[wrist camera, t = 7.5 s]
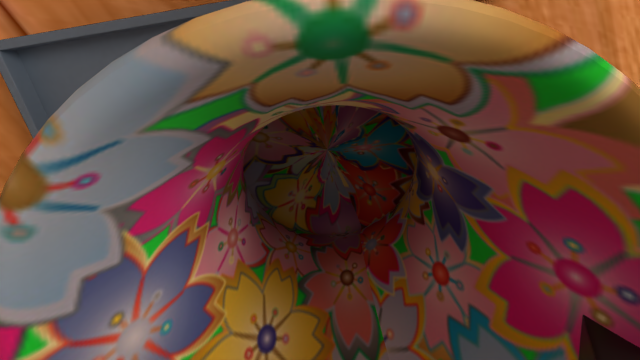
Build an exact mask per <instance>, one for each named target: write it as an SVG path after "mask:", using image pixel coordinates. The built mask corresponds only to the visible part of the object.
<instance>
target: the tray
mask: <svg viewBox="0 0 640 360" xmlns="http://www.w3.org/2000/svg"><path fill="white" fill-rule="evenodd" d="M246 1H251V0H229V1H223V2H217V3H211V4H205V5H200V6H194V7H188V8H182V9H177V10H171V11H165V12H159V13H154V14H148V15H142V16H136V17H130V18H125V19H119V20H113V21H107V22H102V23H96V24H90V25H84V26H78V27H73V28H67V29H61V30H55V31H50V32H44V33H38V34H32V35H26V36H21V37H15V38H9V39H3V40H0V72H1V74H2V76H3V78H4V80H5V82H6V84H7V86H8V89H9V91H10V93H11V95H12V97H13V99H14V101H15V103H16V105H17V107H18V109H19V111H20V113H21V115H22V117H23V119H24V121H25V123H26V125H27V127H28V129H29V131H30V133H31V135H32V137H33V139H34V137H35V136H36V135H37V133H38V132H39V131H40V129H41V128H42V127H43V125H44V124H45V123H46V121H47V120H48V119H49V118H50V117H51V116H52V115H53V114H54V113H55V112H56V111H57V110H58V109H59V108H60V107H61V105H62V104H63V103H64V102H65V101H66V100H67V99H68V98H69V97H70V96H71V95H72V94H73V93H74V92H75V91H76V90H77V89H78V88H80V87H81V86H82V85H83V84H85V83H86V82H87V81H88V80H90V79H91V78H92V77H93V76H95V75H96V74H97V73H99V72H100V71H101V70H102V69H104V68H105V67H106V66H107V65H109V64H110V63H111V62H113V61H114V60H116V59H118V58H119V57H121V56H123V55H124V54H126V53H127V52H129V51H131V50H132V49H134V48H136V47H137V46H139V45H141V44H142V43H144V42H146V41H147V40H149V39H151V38H152V37H154V36H157V35H159V34H161V33H163V32H165V31H168V30H170V29H172V28H174V27H177V26H179V25H181V24H183V23H185V22H188V21H190V20H192V19H194V18H196V17H199V16H202V15H205V14H209V13H212V12H215V11H218V10H221V9H224V8H227V7H231V6H234V5H237V4H240V3H243V2H246Z"/></svg>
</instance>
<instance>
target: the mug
mask: <svg viewBox="0 0 640 360" xmlns="http://www.w3.org/2000/svg"><path fill="white" fill-rule="evenodd" d="M583 315H585V316H587V317H588V318H590V319H592V320H593V321H595V322H597V323H598V324H600V325H602V326H603V327H605V328H607V329H608V330H610V331H612V332H614V333H615V334H617V335H619V336H620V337H622V338H624V339H625V340H627V341H629V342H631V343H632V344H634V345H636V346H637V347H639V348H640V89H639V88H638V87H637V86H636V85H635V84H634V83H633V82H632V81H631V80H630V79H629V78H628V77H627V76H625V75H624V74H623V73H622V72H620V71H619V70H618V69H616V68H615V67H614V66H612V65H611V64H609V63H608V62H607V61H605V60H604V59H603V58H601V57H600V56H599V55H597V54H596V53H595V52H593V51H592V50H590V49H589V48H587V47H586V46H584V45H582V44H580V43H578V42H576V41H575V40H573V39H571V38H569V37H567V36H566V35H564V34H562V33H560V32H558V31H557V30H555V29H553V28H551V27H549V26H547V25H544V24H542V23H539V22H537V21H534V20H532V19H529V18H527V17H524V16H522V15H519V14H517V13H514V12H512V11H509V10H507V9H504V8H500V7H497V6H493V5H489V4H485V3H481V2H478V1H474V0H251V1H246V2H243V3H240V4H237V5H234V6H231V7H227V8H224V9H221V10H218V11H215V12H212V13H209V14H205V15H202V16H199V17H196V18H194V19H192V20H190V21H188V22H185V23H183V24H181V25H179V26H177V27H174V28H172V29H170V30H168V31H165V32H163V33H161V34H159V35H157V36H154V37H152V38H151V39H149V40H147V41H146V42H144V43H142V44H141V45H139V46H137V47H136V48H134V49H132V50H131V51H129V52H127V53H126V54H124V55H123V56H121V57H119V58H118V59H116V60H114V61H113V62H111V63H110V64H109V65H107V66H106V67H105V68H104V69H102V70H101V71H100V72H99V73H97V74H96V75H95V76H93V77H92V78H91V79H90V80H88V81H87V82H86V83H85V84H83V85H82V86H81V87H80V88H78V89H77V90H76V91H75V92H74V93H73V94H72V95H71V96H70V97H69V98H68V99H67V100H66V101H65V102H64V103H63V104H62V105H61V107H60V108H59V109H58V110H57V111H56V112H55V113H54V114H53V115H52V116H51V117H50V118H49V119H48V120H47V121H46V123H45V124H44V125H43V127H42V128H41V129H40V131H39V132H38V133H37V135H36V136H35V137H34V139H33V140H32V141H31V143H30V144H29V145H28V147H27V148H26V149H25V151H24V152H23V153H22V155H21V157H20V159H19V160H18V162H17V164H16V166H15V168H14V170H13V171H12V173H11V175H10V177H9V179H8V180H7V182H6V184H5V186H4V189H3V191H2V194H1V197H0V360H579V347H580V335H581V325H582V316H583Z"/></svg>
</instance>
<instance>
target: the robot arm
mask: <svg viewBox="0 0 640 360" xmlns="http://www.w3.org/2000/svg"><path fill="white" fill-rule="evenodd" d="M579 360H640V348H639V347H637V346H636V345H634V344H632V343H631V342H629V341H627V340H625V339H624V338H622V337H620V336H619V335H617V334H615V333H614V332H612V331H610V330H608V329H607V328H605V327H603V326H602V325H600V324H598V323H597V322H595V321H593V320H592V319H590V318H588V317H587V316H585V315H583V316H582V325H581V335H580V347H579Z"/></svg>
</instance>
